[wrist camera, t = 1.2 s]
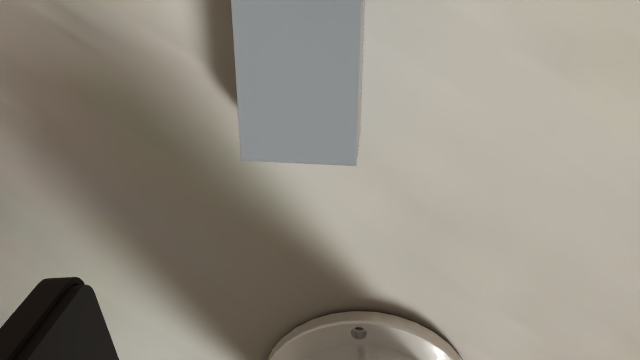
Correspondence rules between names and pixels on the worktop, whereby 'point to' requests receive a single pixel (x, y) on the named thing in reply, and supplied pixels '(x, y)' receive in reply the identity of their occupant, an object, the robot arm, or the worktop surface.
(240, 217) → the worktop surface
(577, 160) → the worktop surface
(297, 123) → the slate slab
